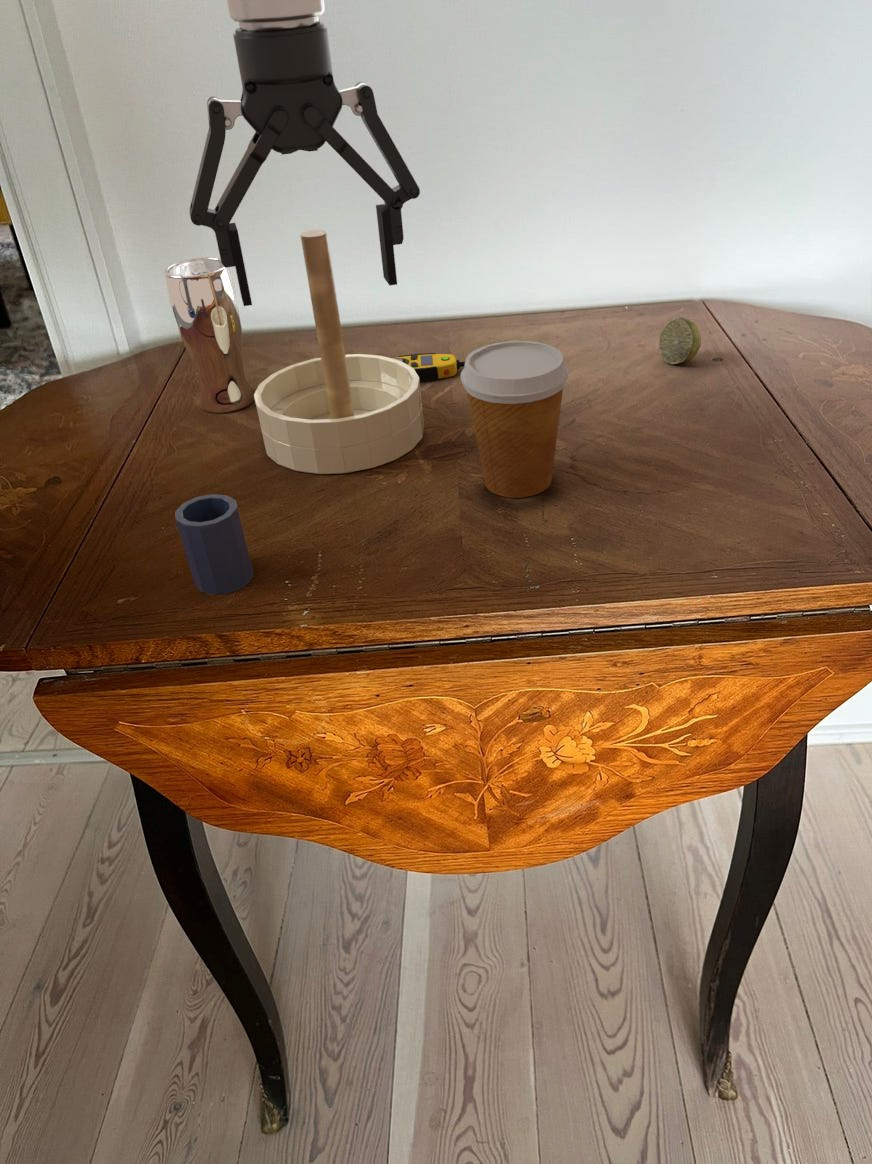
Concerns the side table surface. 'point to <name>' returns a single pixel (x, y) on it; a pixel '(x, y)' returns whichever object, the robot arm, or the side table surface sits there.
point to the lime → (679, 341)
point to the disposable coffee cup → (516, 413)
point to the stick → (327, 322)
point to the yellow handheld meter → (432, 365)
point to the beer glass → (210, 331)
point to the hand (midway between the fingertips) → (319, 291)
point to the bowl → (347, 444)
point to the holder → (214, 543)
